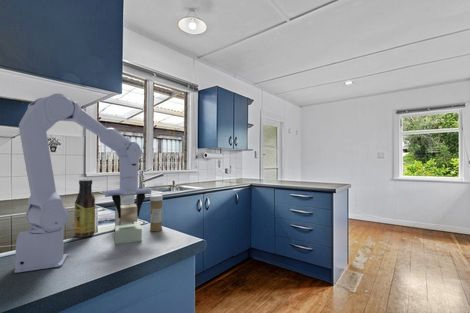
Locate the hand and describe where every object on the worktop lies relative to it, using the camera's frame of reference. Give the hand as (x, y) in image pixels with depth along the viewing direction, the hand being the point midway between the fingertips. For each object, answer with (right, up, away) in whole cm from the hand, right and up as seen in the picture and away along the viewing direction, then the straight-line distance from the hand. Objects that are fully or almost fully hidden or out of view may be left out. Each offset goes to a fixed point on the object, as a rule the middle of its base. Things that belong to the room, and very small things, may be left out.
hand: (128, 216), depth 85 cm
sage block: (0, -8, 0) cm, 8 cm away
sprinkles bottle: (+6, -8, +11) cm, 14 cm away
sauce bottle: (-17, -8, +3) cm, 19 cm away
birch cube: (0, -1, 0) cm, 1 cm away
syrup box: (-7, -8, +13) cm, 17 cm away
